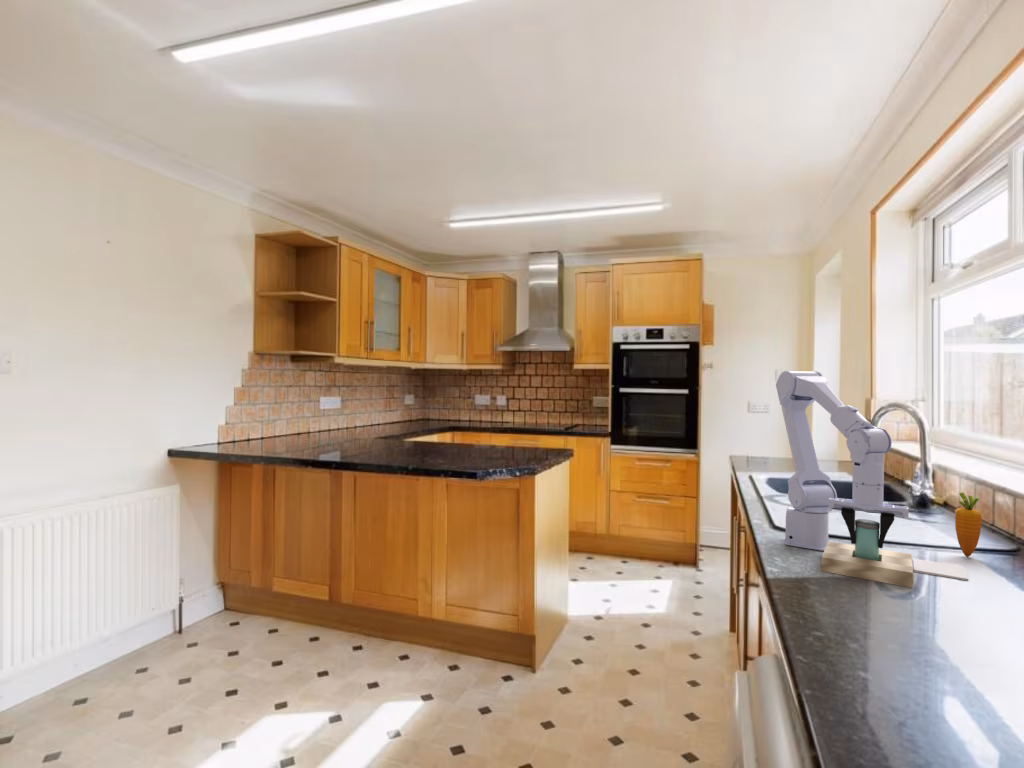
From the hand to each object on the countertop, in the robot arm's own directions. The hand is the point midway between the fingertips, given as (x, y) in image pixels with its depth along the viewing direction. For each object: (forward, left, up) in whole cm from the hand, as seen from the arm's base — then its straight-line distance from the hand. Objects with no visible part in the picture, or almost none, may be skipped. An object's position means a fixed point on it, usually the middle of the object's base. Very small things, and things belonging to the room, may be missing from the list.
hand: (866, 544), depth 119 cm
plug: (0, 0, -4) cm, 4 cm away
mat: (+13, +9, -5) cm, 17 cm away
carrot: (+19, +24, -6) cm, 31 cm away
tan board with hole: (0, 0, -5) cm, 5 cm away
